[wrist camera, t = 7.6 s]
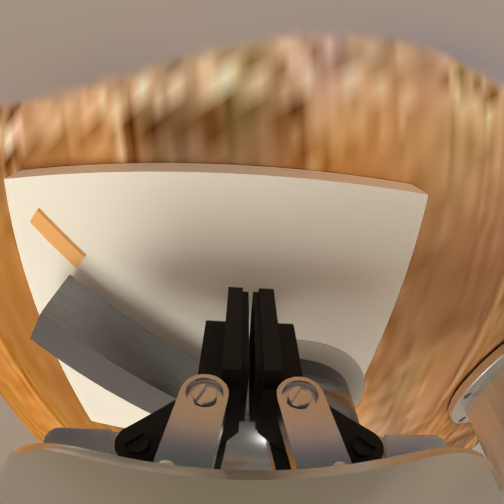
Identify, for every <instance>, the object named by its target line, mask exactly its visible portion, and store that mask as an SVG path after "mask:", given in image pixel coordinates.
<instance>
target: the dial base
mask: <svg viewBox="0 0 504 504" xmlns="http://www.w3.org/2000/svg"><path fill="white" fill-rule="evenodd" d="M4 181H5V188H6V194H7V200H8V206H9V211H10V216H11V221H12V225H13V230H14V234H15V238H16V242H17V246H18V250H19V254H20V258H21V261H22V265H23V268H24V271H25V275H26V278H27V281H28V284H29V287H30V290H31V293H32V296H33V299H34V302H35V305H36V307H37V310H38V313H39V315H40V314H41V312H42V310H43V309H44V308H45V306H46V305H47V303H48V302H49V301H50V299H51V298H52V297H53V295H54V294H55V293H56V291H57V290H58V289H59V288H60V286H61V285H62V284H63V282H64V281H65V280H66V279H67V277H68V276H69V275H71V276H73V277H74V278H75V279H77V280H78V281H79V282H80V283H82V284H83V285H84V286H86V287H87V288H88V289H90V290H91V291H92V292H94V293H95V294H96V295H98V296H99V297H100V298H102V299H103V300H104V301H106V302H107V303H109V304H110V305H111V306H113V307H114V308H116V309H117V310H118V311H120V312H121V313H123V314H124V315H126V316H127V317H129V318H130V319H131V320H133V321H134V322H136V323H137V324H139V325H140V326H142V327H143V328H145V329H146V330H148V331H150V332H151V333H153V334H154V335H156V336H157V337H159V338H160V339H162V340H164V341H165V342H167V343H168V344H170V345H172V346H173V347H175V348H176V349H178V350H180V351H181V352H183V353H185V354H186V355H188V356H190V357H192V358H193V359H195V360H197V361H198V362H200V356H201V349H202V343H203V336H204V330H205V324H206V320H211V321H226V311H227V299H228V287H242V288H243V291H245V292H249V334H250V322H251V310H252V297H253V292H258V290H259V288H265V289H274V295H275V303H276V311H277V319H278V323H284V324H293V325H294V329H295V335H296V340H297V346H298V351H299V357H300V359H305V360H311V361H315V362H319V363H322V364H324V365H327V366H329V367H331V368H333V369H335V370H336V371H337V372H339V373H340V374H341V375H342V376H343V377H344V378H345V380H346V382H347V384H348V387H349V390H350V393H351V397H352V400H353V404H354V407H356V406H357V404H358V403H359V401H360V399H361V397H362V395H363V391H364V386H365V380H364V375H365V373H366V371H367V369H368V367H369V365H370V363H371V361H372V358H373V356H374V354H375V352H376V349H377V347H378V345H379V343H380V340H381V338H382V336H383V333H384V331H385V328H386V326H387V324H388V321H389V319H390V316H391V314H392V311H393V308H394V306H395V303H396V301H397V298H398V295H399V292H400V290H401V287H402V284H403V281H404V278H405V275H406V272H407V269H408V266H409V263H410V260H411V257H412V254H413V251H414V247H415V244H416V241H417V237H418V234H419V230H420V227H421V223H422V219H423V216H424V212H425V208H426V204H427V200H428V196H429V195H428V194H427V193H425V192H424V191H422V190H420V189H419V188H417V187H416V186H414V185H413V184H408V183H402V182H396V181H390V180H383V179H377V178H370V177H363V176H355V175H347V174H339V173H331V172H321V171H312V170H302V169H290V168H278V167H265V166H249V165H230V164H204V163H118V164H93V165H75V166H60V167H48V168H37V169H27V170H22V171H19V172H17V173H15V174H13V175H11V176H9V177H7V178H5V179H4ZM58 360H59V359H58ZM59 362H60V364H61V366H62V368H63V370H64V372H65V374H66V376H67V378H68V380H69V382H70V384H71V386H72V388H73V390H74V391H75V393H76V395H77V397H78V399H79V400H80V402H81V404H82V406H83V407H84V409H85V411H86V413H87V414H88V416H89V418H90V419H91V421H95V422H99V423H104V424H108V425H113V426H118V427H123V428H126V427H128V426H130V425H132V424H134V423H135V422H137V421H139V420H141V419H143V418H144V417H146V416H148V415H150V413H148V412H146V411H144V410H142V409H140V408H139V407H137V406H135V405H133V404H131V403H129V402H127V401H125V400H124V399H122V398H120V397H118V396H116V395H115V394H113V393H111V392H109V391H108V390H106V389H104V388H103V387H101V386H99V385H98V384H96V383H94V382H93V381H91V380H89V379H88V378H86V377H85V376H83V375H82V374H80V373H78V372H77V371H75V370H74V369H72V368H71V367H69V366H68V365H66V364H65V363H63V362H62V361H61V360H59Z"/></svg>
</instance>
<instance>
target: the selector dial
mask: <svg viewBox="0 0 504 504" xmlns="http://www.w3.org/2000/svg"><path fill="white" fill-rule="evenodd" d="M31 339H32V340H33V341H35V342H36V343H37V344H39V345H40V346H41V347H42V348H44V349H45V350H47V351H48V352H49V353H51V354H52V355H53V356H55V357H56V358H58V359H59V360H61V361H62V362H63V363H65V364H66V365H68V366H69V367H71V368H72V369H74V370H75V371H77V372H78V373H80V374H82V375H83V376H85V377H86V378H88V379H89V380H91V381H93V382H94V383H96V384H98V385H99V386H101V387H103V388H104V389H106V390H108V391H109V392H111V393H113V394H115V395H116V396H118V397H120V398H122V399H124V400H125V401H127V402H129V403H131V404H133V405H135V406H137V407H139V408H140V409H142V410H144V411H146V412H148V413H150V414H151V413H153V412H155V411H157V410H158V409H160V408H162V407H164V406H165V405H167V404H169V403H170V402H172V401H174V400H176V399H177V397H178V394H179V391H180V389H181V386H182V385H183V383H184V382H185V381H186V380H187V379H188V378H190V377H192V376H195V375H198V370H199V363H200V362H198V361H197V360H195V359H193V358H192V357H190V356H188V355H186V354H185V353H183V352H181V351H180V350H178V349H176V348H175V347H173V346H172V345H170V344H168V343H167V342H165V341H164V340H162V339H160V338H159V337H157V336H156V335H154V334H153V333H151V332H150V331H148V330H146V329H145V328H143V327H142V326H140V325H139V324H137V323H136V322H134V321H133V320H131V319H130V318H129V317H127V316H126V315H124V314H123V313H121V312H120V311H118V310H117V309H116V308H114V307H113V306H111V305H110V304H109V303H107V302H106V301H104V300H103V299H102V298H100V297H99V296H98V295H96V294H95V293H94V292H92V291H91V290H90V289H88V288H87V287H86V286H84V285H83V284H82V283H80V282H79V281H78V280H77V279H75V278H74V277H73V276H71V275H69V276H68V277H67V279H66V280H65V281H64V282H63V284H62V285H61V286H60V288H59V289H58V290H57V291H56V293H55V294H54V295H53V297H52V298H51V299H50V301H49V302H48V303H47V305H46V306H45V308H44V309H43V310H42V312H41V314H40V316H39V318H38V321H37V323H36V326H35V328H34V331H33V333H32V336H31ZM300 363H301V368H302V374H303V377H305V378H309V379H311V380H313V381H315V382H316V383H317V384H318V385H319V386H320V387H321V389H322V390H323V393H324V395H325V398H326V400H327V403H328V405H329V406H331V407H332V408H334V409H335V410H337V411H339V412H340V413H342V414H343V415H345V416H347V417H348V418H350V419H352V420H353V421H355V422H356V423H358V424H359V421H358V418H357V414H356V411H355V407H354V404H353V400H352V397H351V393H350V390H349V387H348V384H347V382H346V380H345V378H344V377H343V376H342V375H341V374H340V373H339V372H337V371H336V370H335V369H333V368H331V367H329V366H327V365H324V364H322V363H319V362H315V361H311V360H305V359H300ZM222 470H250V471H265V470H272V467H271V463H270V458H269V454H268V450H267V446H266V439H265V438H264V437H262V436H261V435H260V434H259V433H257V430H255V422H249V380H248V391H247V401H246V411H245V421H244V422H239V432H238V433H237V434H236V435H234V436H233V437H232V438H230V439H229V440H228V445H227V450H226V454H225V458H224V463H223V467H222Z"/></svg>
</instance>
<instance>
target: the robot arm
mask: <svg viewBox="0 0 504 504" xmlns="http://www.w3.org/2000/svg"><path fill="white" fill-rule="evenodd" d="M248 380H249V422H255V430H257V433H259V434H260V435H261V436H262V437H264V438H265V439H266V446H267V450H268V454H269V458H270V463H271V467H272V470H265V471H250V470H222V467H223V463H224V458H225V454H226V450H227V445H228V440H229V439H230V438H232V437H233V436H234V435H236V434H237V433H238V432H239V422H244V421H245V411H246V401H247V391H248ZM448 413H449V415H450V418H451V420H452V421H453V422H454V423H467V422H470V423H471V425H472V427H473V429H474V431H475V433H476V435H477V438H478V440H479V442H480V444H481V446H482V449H483V451H484V453H485V456H486V458H487V459H486V458H485V457H484V456H483V455H482V454H481V453H479V452H477V451H474V450H470V449H465V448H458V447H446V444H445V442H444V441H443V440H442V439H441V438H439V437H437V436H434V435H385V436H384V437H378V436H377V435H376V434H375V433H373V432H372V431H370V430H368V429H367V428H365V427H363V426H361V425H360V424H358V423H356V422H355V421H353V420H352V419H350V418H348V417H347V416H345V415H343V414H342V413H340V412H339V411H337V410H335V409H334V408H332V407H331V406H329V405H328V403H327V400H326V398H325V395H324V393H323V390H322V389H321V387H320V386H319V385H318V384H317V383H316V382H315V381H313V380H311V379H309V378H305V377H303V374H302V368H301V363H300V357H299V351H298V346H297V340H296V335H295V329H294V325H293V324H284V323H278V319H277V311H276V303H275V295H274V289H265V288H259V290H258V292H253V297H252V310H251V322H250V334H249V292H245V291H243V288H242V287H228V299H227V311H226V321H211V320H206V324H205V330H204V336H203V343H202V349H201V356H200V363H199V370H198V375H195V376H192V377H190V378H188V379H187V380H186V381H185V382H184V383H183V385H182V386H181V389H180V391H179V394H178V397H177V399H176V400H174V401H172V402H170V403H169V404H167V405H165V406H164V407H162V408H160V409H158V410H157V411H155V412H153V413H151V414H150V415H148V416H146V417H144V418H143V419H141V420H139V421H137V422H135V423H134V424H132V425H130V426H128V427H126V428H125V429H123V430H122V431H121V432H112V430H111V429H78V428H54V429H52V430H51V431H49V432H48V433H47V435H46V436H45V439H44V443H38V444H29V445H24V446H21V447H18V448H16V449H14V450H13V451H12V452H11V453H10V454H9V455H8V456H7V457H6V459H5V460H4V462H3V463H2V465H1V467H0V504H504V344H502V345H501V346H500V347H499V348H497V349H496V350H495V351H494V352H493V353H491V354H490V355H489V356H488V357H487V358H486V359H485V360H484V361H483V362H482V363H481V364H480V365H479V366H478V367H477V368H476V369H475V370H474V371H473V372H472V373H471V374H470V375H469V376H468V377H467V378H466V380H465V381H464V382H463V383H462V384H461V386H460V387H459V388H458V390H457V391H456V393H455V394H454V396H453V397H452V399H451V402H450V404H449V407H448Z"/></svg>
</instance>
